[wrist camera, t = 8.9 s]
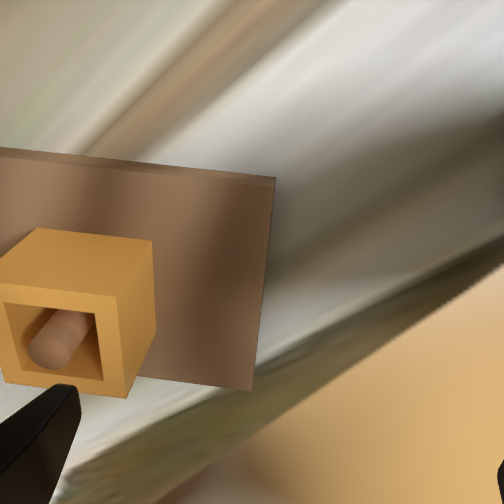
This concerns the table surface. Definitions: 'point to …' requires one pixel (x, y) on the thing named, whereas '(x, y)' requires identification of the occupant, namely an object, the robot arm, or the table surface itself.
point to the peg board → (155, 253)
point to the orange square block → (78, 307)
